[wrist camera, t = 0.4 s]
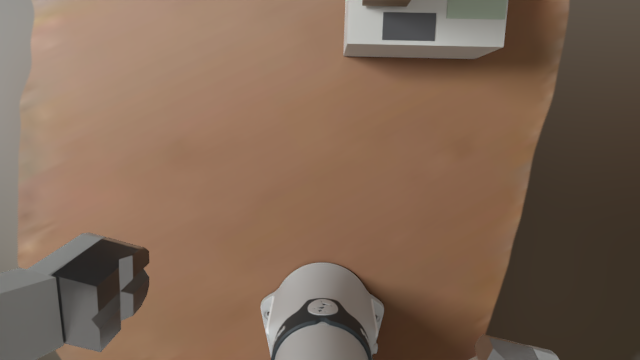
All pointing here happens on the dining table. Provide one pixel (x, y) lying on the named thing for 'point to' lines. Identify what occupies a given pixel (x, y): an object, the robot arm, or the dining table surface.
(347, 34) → the box
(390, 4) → the walnut post
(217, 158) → the dining table surface
